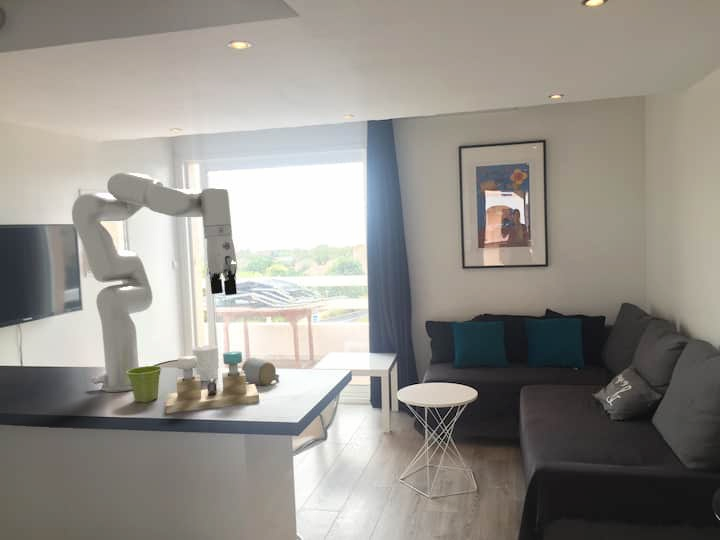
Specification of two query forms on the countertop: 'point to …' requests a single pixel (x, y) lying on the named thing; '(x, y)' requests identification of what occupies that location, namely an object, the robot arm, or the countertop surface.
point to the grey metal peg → (212, 387)
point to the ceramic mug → (259, 371)
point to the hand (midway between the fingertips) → (224, 294)
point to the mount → (196, 398)
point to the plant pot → (145, 382)
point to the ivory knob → (187, 366)
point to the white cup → (206, 362)
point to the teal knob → (232, 361)
